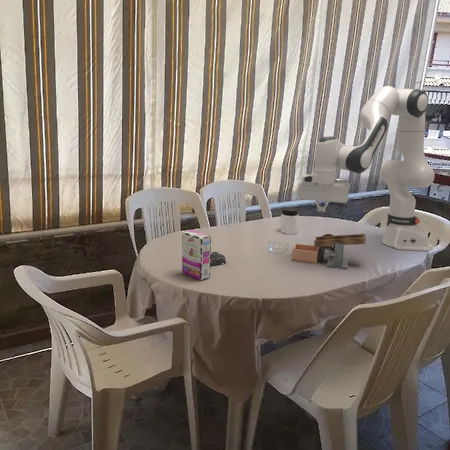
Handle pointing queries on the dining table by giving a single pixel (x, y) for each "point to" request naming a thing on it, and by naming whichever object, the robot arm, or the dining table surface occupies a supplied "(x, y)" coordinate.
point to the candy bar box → (196, 254)
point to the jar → (289, 220)
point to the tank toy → (217, 258)
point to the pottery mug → (328, 235)
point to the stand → (334, 257)
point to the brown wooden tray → (340, 240)
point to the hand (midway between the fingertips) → (321, 211)
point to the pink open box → (305, 253)
